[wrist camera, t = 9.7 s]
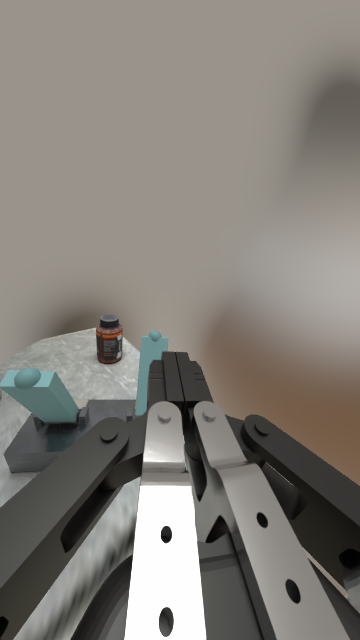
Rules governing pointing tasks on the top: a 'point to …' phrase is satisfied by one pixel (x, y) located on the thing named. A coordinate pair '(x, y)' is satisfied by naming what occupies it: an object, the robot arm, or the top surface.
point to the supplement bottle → (109, 339)
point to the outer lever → (148, 353)
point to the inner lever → (41, 395)
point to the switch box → (60, 434)
